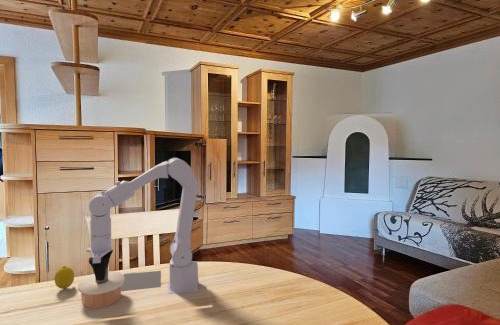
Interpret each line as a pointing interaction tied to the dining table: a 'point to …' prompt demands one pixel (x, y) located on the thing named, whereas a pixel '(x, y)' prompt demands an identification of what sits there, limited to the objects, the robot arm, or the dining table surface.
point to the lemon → (64, 277)
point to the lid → (101, 283)
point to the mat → (141, 280)
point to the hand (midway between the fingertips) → (101, 276)
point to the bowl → (101, 298)
